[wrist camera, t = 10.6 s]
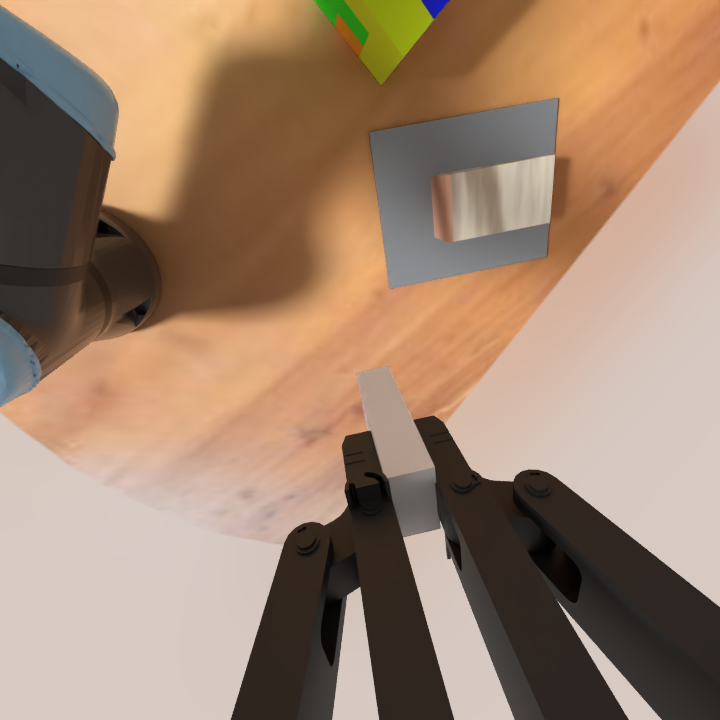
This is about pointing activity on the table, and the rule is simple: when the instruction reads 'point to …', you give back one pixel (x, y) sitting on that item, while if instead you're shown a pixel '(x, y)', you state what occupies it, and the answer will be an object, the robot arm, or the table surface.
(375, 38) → the puzzle toy
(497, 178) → the birch block
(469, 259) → the slate mat
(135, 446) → the table surface
